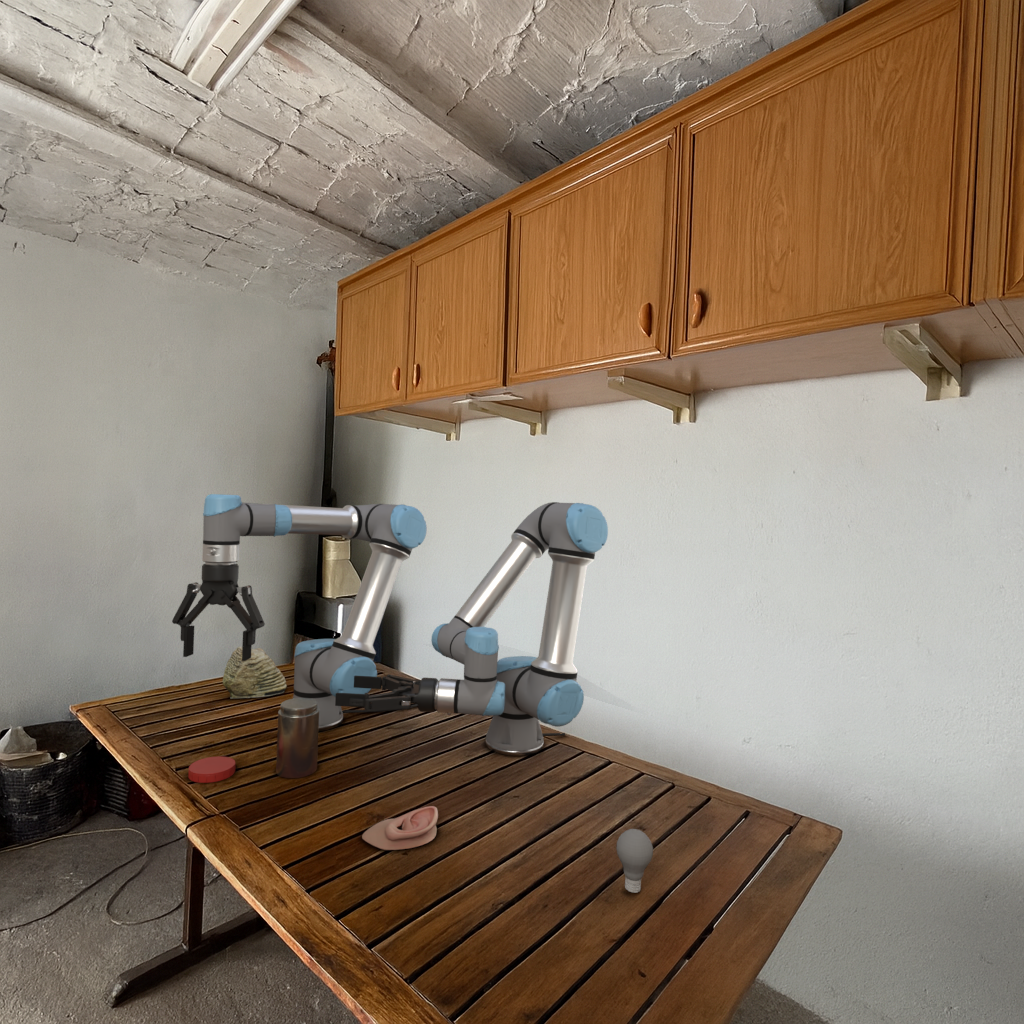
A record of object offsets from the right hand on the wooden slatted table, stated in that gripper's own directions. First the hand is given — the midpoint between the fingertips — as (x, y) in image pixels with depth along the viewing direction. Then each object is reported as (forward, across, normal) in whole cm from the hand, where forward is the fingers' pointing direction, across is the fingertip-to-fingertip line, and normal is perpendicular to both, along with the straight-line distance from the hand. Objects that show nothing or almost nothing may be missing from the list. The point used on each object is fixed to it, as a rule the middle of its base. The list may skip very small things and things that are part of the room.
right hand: (345, 689), depth 145 cm
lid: (+28, -5, -18) cm, 34 cm away
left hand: (+28, -4, +7) cm, 29 cm away
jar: (+11, 0, -19) cm, 22 cm away
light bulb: (-61, -37, -19) cm, 74 cm away
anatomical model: (-19, -25, -19) cm, 37 cm away
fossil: (+44, +50, -19) cm, 69 cm away
